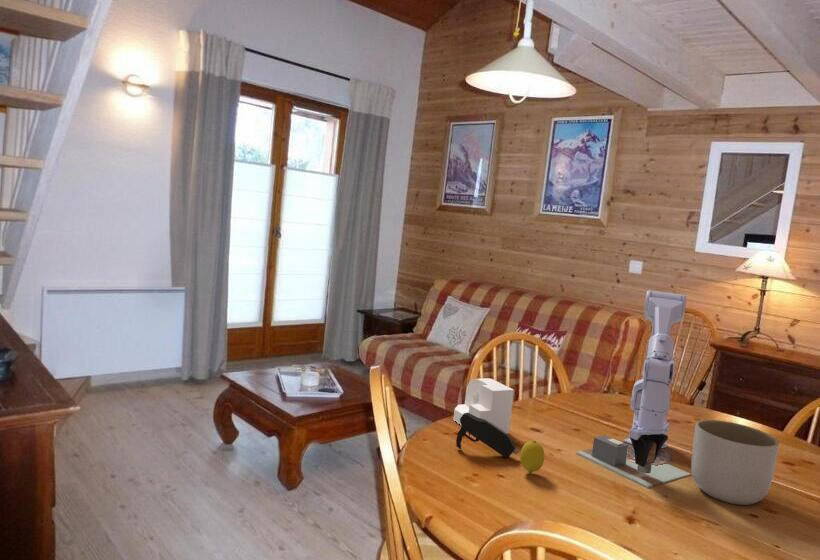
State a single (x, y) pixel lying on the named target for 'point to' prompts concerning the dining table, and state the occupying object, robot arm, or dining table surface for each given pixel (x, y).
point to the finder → (610, 450)
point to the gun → (485, 434)
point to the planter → (733, 461)
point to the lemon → (532, 456)
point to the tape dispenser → (487, 402)
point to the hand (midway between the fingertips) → (644, 463)
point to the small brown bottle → (648, 460)
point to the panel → (630, 471)
